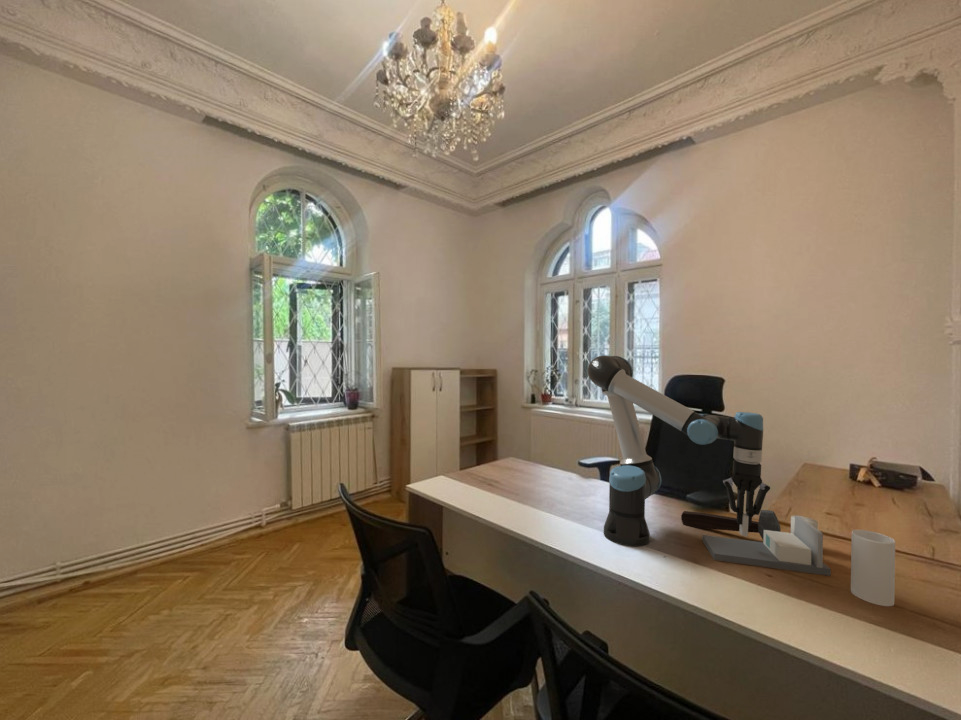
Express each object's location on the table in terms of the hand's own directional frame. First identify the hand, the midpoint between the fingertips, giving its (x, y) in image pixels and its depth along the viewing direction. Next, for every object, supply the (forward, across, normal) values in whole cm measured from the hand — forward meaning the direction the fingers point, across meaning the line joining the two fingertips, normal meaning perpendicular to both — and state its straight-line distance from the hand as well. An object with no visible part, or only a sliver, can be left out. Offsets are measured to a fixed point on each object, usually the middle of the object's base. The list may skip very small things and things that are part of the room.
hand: (743, 534), depth 128 cm
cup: (+6, +25, -17) cm, 30 cm away
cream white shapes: (+6, +22, +13) cm, 26 cm away
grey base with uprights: (+6, +5, 0) cm, 8 cm away
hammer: (+7, 0, +15) cm, 17 cm away
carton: (+4, +12, 0) cm, 12 cm away
